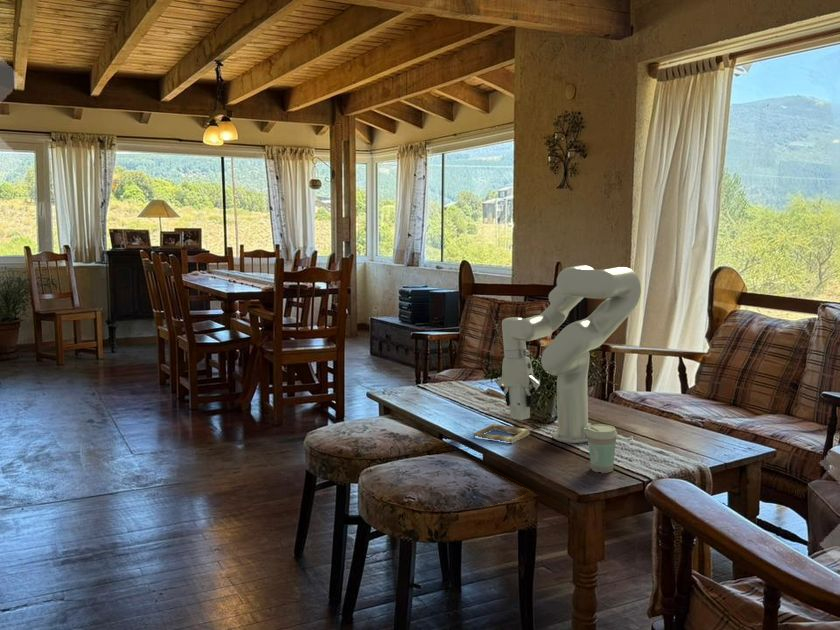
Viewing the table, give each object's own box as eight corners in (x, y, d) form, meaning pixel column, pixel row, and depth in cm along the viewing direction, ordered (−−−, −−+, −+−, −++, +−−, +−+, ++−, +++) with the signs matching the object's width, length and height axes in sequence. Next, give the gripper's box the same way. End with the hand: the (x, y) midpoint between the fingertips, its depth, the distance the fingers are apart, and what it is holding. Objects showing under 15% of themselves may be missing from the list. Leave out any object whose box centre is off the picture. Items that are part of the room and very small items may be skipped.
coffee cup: (587, 463, 208) (586, 423, 206) (618, 465, 205) (617, 424, 204) (585, 474, 200) (584, 432, 198) (617, 475, 197) (616, 433, 196)
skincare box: (509, 417, 247) (506, 383, 246) (520, 415, 250) (517, 380, 248) (521, 420, 242) (518, 385, 241) (531, 417, 244) (528, 382, 243)
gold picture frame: (529, 434, 238) (529, 429, 238) (512, 444, 228) (511, 439, 228) (492, 428, 246) (492, 424, 246) (474, 438, 237) (474, 433, 236)
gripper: (543, 352, 242) (547, 404, 243) (498, 351, 252) (502, 401, 254) (533, 356, 236) (537, 409, 237) (487, 355, 246) (492, 406, 248)
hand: (519, 405), depth 245 cm, fingers closed on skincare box, 7 cm apart
